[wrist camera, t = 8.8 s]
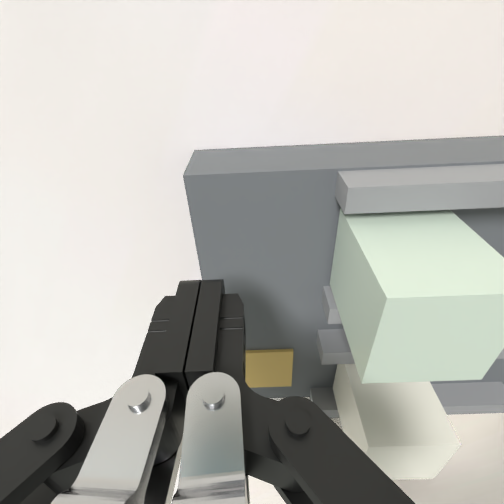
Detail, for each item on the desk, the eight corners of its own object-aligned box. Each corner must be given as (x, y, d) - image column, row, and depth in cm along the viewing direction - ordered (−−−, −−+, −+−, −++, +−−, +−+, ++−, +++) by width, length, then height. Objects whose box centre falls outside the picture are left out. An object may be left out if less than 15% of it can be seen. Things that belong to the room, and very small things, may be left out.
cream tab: (340, 349, 17) (368, 447, 13) (411, 346, 17) (462, 444, 13) (332, 388, 20) (354, 481, 16) (395, 386, 20) (433, 478, 16)
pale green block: (340, 208, 12) (387, 298, 8) (443, 203, 12) (542, 292, 8) (329, 284, 14) (361, 383, 10) (415, 280, 14) (481, 379, 10)
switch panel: (194, 150, 14) (175, 192, 10) (735, 124, 14) (916, 159, 10) (226, 361, 23) (222, 422, 20) (546, 349, 23) (603, 410, 19)
